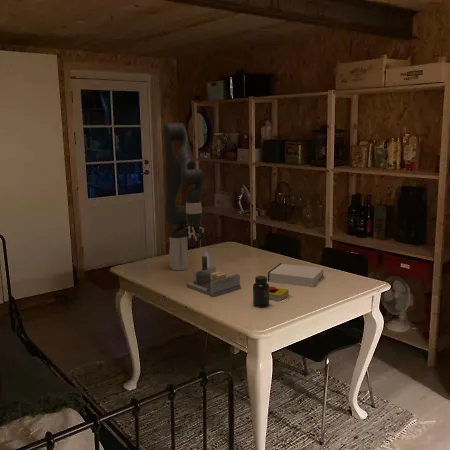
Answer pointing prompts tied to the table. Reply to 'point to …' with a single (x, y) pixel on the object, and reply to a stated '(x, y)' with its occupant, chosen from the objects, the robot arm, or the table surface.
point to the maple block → (217, 276)
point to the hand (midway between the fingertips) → (194, 247)
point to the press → (217, 285)
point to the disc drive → (295, 275)
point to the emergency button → (278, 294)
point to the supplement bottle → (261, 292)
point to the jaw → (203, 272)
